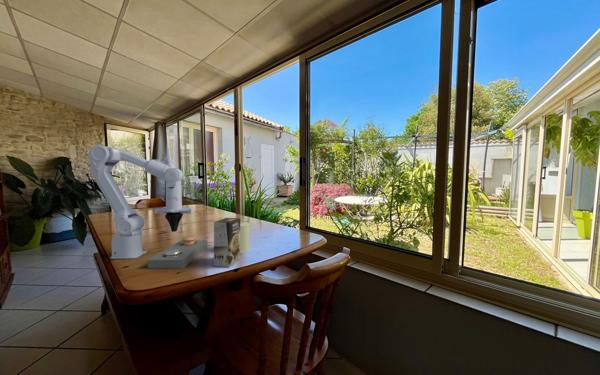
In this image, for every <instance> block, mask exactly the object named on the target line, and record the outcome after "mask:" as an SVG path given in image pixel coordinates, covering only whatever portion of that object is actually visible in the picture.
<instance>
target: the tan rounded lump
mask: <svg viewBox="0 0 600 375" xmlns="http://www.w3.org/2000/svg"><path fill="white" fill-rule="evenodd" d="M181 240H182V241H183V246H193V245H194V240H196V236H194V235H193V236H183V237H182V238H181Z"/></svg>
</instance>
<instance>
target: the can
mask: <svg viewBox="0 0 600 375" xmlns="http://www.w3.org/2000/svg"><path fill="white" fill-rule="evenodd" d="M250 225H251V224H250V222H247V221H246V222H245V221H240V254H244V253H247V252H249V251H250Z"/></svg>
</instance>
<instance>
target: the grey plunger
mask: <svg viewBox="0 0 600 375" xmlns="http://www.w3.org/2000/svg"><path fill="white" fill-rule="evenodd" d="M180 253H181V250H179V249H173V250H168V251H166V252H165V255H166V257H178V256H179V255H180Z"/></svg>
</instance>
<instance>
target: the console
mask: <svg viewBox="0 0 600 375" xmlns="http://www.w3.org/2000/svg"><path fill="white" fill-rule="evenodd" d="M207 248H208V239H206V240H203V239H202V240H199V239H198V240H196V239H195V240H194V245H193V246H183V241H182V239H181V240H179V241H177V242H175V243H174V244H171V245H170V246H168V247H166V248H165V249H164V250H161V251H160V252H159V253H156V254H155V255H154V256H152V257H149V258H148V259H147V269H184V268H185V267H186V266H188V264H190V263H191V262H192V261H193V260H194V259H195V258H197V257H198V256H199V255H200V254H201V253H202V252H203V251H205V250H206V249H207ZM173 249H179V250H181V253H180V255H179V256H178V257H166V255H165V252H166V251H168V250H173Z"/></svg>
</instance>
